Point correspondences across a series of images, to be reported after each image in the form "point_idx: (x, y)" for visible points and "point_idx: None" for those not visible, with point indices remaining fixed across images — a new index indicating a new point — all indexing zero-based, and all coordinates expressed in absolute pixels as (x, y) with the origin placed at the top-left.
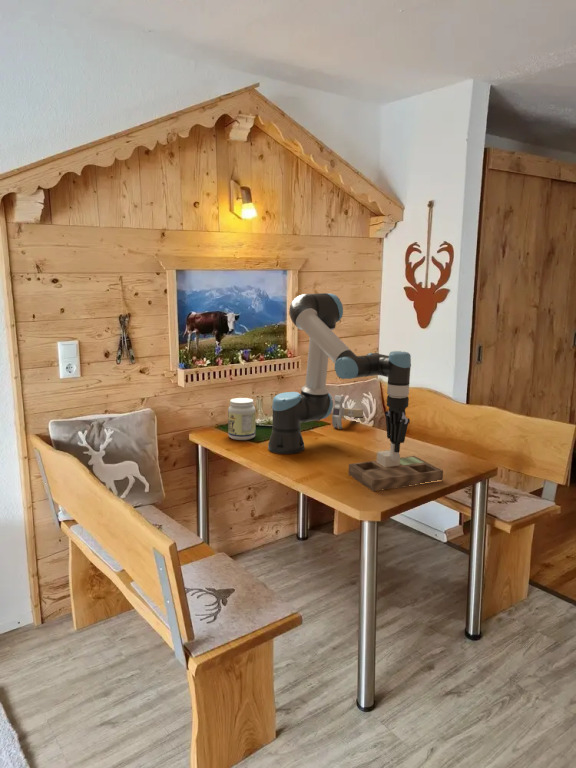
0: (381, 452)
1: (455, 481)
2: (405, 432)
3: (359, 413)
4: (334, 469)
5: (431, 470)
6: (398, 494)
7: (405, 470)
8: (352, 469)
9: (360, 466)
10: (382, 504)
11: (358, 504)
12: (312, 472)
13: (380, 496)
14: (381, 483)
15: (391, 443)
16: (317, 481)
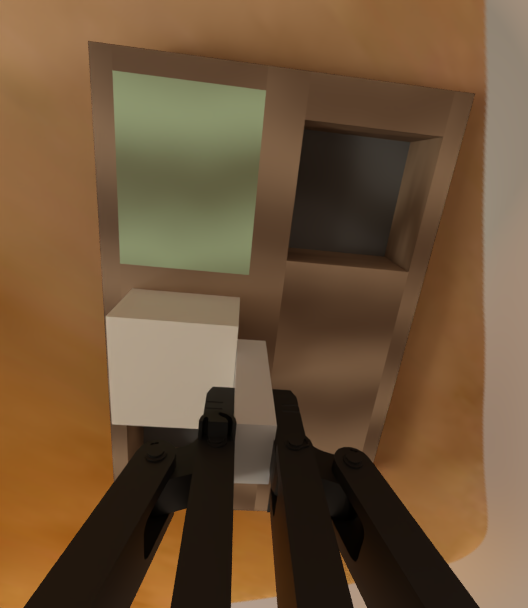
0: (138, 408)
1: (482, 20)
2: (457, 590)
3: None
4: (49, 480)
5: (378, 131)
6: (421, 412)
7: (333, 323)
8: None
9: (133, 448)
10: (452, 500)
11: None
12: (61, 554)
13: (395, 473)
14: None
15: (238, 476)
16: (163, 572)
